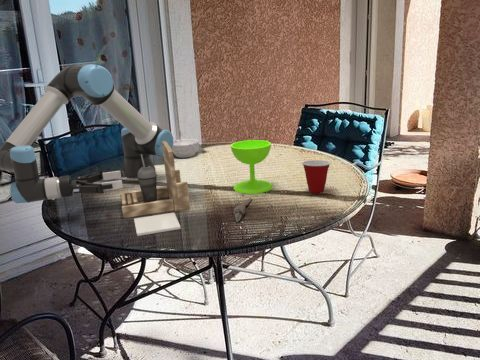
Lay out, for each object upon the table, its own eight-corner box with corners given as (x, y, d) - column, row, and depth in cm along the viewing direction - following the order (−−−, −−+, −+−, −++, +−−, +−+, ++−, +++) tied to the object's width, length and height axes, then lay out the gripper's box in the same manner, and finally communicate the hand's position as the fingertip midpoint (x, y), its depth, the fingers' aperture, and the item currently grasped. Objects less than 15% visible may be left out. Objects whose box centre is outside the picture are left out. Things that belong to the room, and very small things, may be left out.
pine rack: (123, 219, 161) (114, 158, 154) (121, 201, 179) (113, 147, 173) (190, 209, 167) (184, 150, 160) (181, 193, 185) (175, 139, 179)
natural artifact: (233, 227, 152) (225, 217, 152) (250, 201, 172) (244, 193, 172) (242, 221, 150) (234, 211, 150) (258, 196, 171) (251, 187, 170)
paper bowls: (198, 158, 239) (196, 143, 237) (169, 160, 240) (167, 145, 238) (200, 151, 254) (199, 137, 252) (173, 153, 254) (172, 139, 252)
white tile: (137, 236, 146) (136, 233, 146) (134, 220, 159) (133, 218, 158) (180, 228, 149) (180, 226, 149) (174, 214, 162) (174, 212, 162)
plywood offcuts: (124, 215, 164) (122, 203, 163) (122, 205, 176) (121, 193, 174) (138, 213, 166) (137, 201, 164) (136, 202, 177) (135, 191, 176)
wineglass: (260, 196, 176) (258, 150, 171) (225, 191, 184) (222, 147, 179) (279, 184, 189) (278, 141, 183) (246, 180, 197) (244, 139, 192)
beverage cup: (156, 209, 168) (149, 156, 163) (137, 209, 170) (130, 156, 164) (163, 202, 175) (157, 151, 169) (145, 202, 177) (139, 152, 171)
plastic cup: (332, 187, 180) (332, 158, 177) (328, 196, 170) (328, 165, 167) (305, 186, 184) (304, 157, 180) (299, 195, 174) (299, 164, 171)
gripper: (64, 187, 174) (121, 179, 179) (58, 208, 151) (124, 199, 156) (60, 168, 172) (118, 161, 177) (54, 186, 149) (121, 178, 154)
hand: (121, 179), depth 167 cm, fingers open, 13 cm apart
